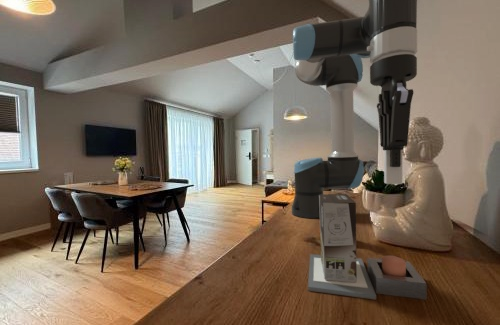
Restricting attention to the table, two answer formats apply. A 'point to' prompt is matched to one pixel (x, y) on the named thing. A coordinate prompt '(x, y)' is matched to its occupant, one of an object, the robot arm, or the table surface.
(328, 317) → the table surface
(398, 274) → the button
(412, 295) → the button housing
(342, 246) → the coffee box
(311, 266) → the drawing board
